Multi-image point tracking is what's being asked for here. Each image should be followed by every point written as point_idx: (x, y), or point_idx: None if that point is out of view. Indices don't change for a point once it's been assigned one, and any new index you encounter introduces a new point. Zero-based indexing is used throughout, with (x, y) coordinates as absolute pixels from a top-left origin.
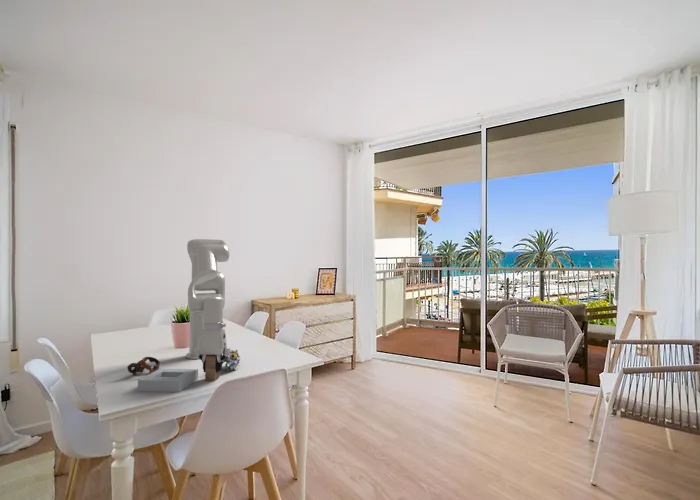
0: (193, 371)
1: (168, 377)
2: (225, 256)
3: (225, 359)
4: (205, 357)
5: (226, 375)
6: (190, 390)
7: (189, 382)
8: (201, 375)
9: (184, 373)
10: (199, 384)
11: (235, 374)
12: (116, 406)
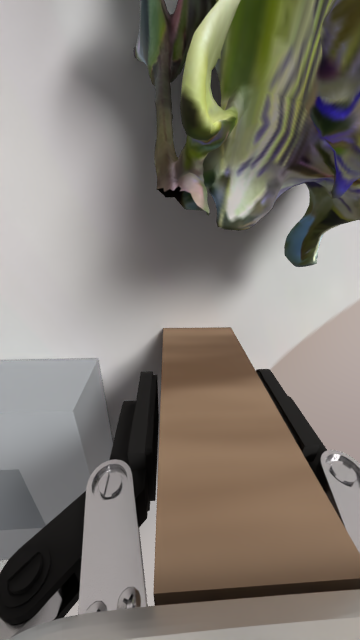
0: (76, 455)
1: (3, 535)
2: None
3: (318, 182)
4: (145, 590)
5: (270, 279)
6: (157, 476)
7: (108, 447)
8: (72, 287)
9: (42, 487)
10: (159, 425)
11: (338, 252)
12: (3, 565)
